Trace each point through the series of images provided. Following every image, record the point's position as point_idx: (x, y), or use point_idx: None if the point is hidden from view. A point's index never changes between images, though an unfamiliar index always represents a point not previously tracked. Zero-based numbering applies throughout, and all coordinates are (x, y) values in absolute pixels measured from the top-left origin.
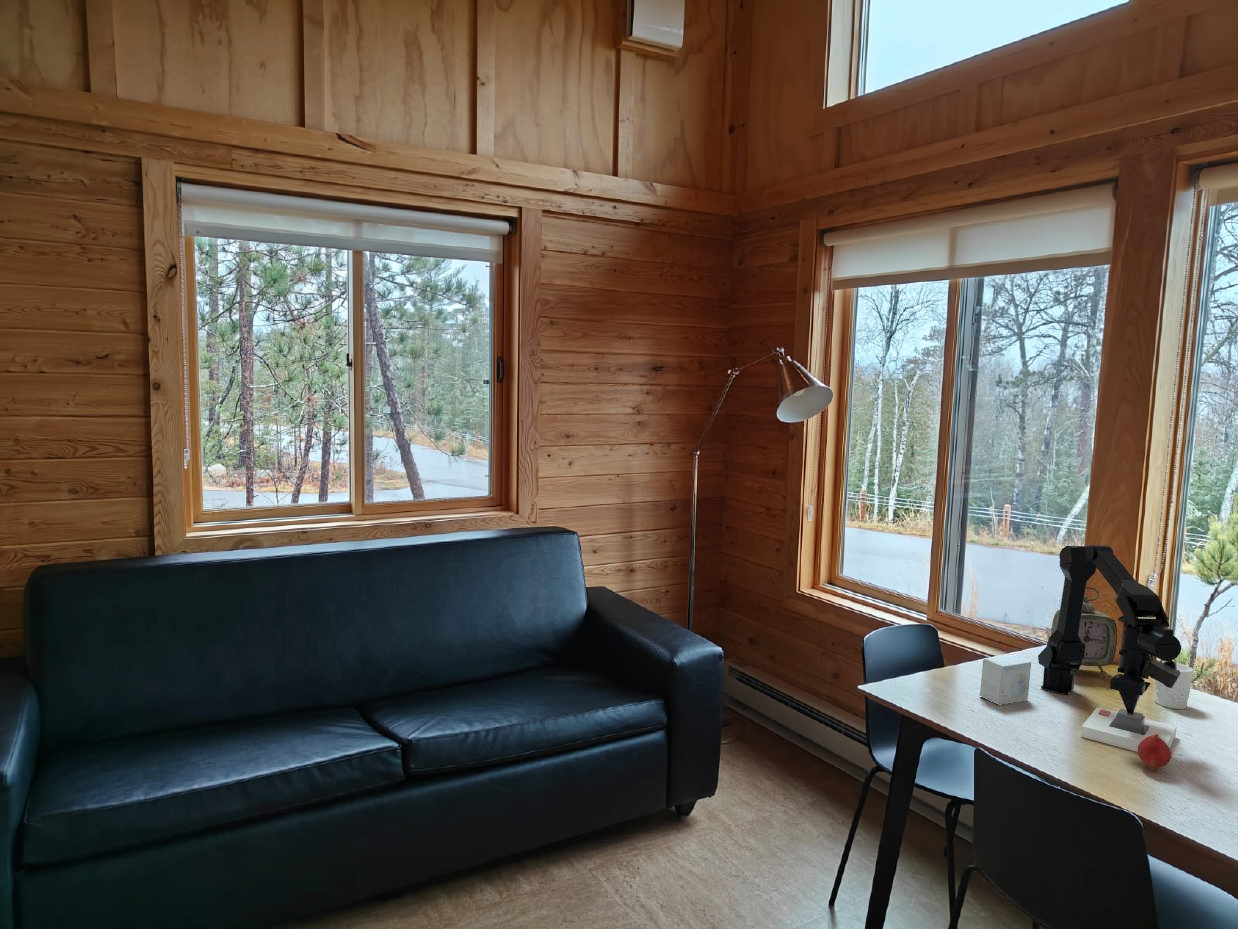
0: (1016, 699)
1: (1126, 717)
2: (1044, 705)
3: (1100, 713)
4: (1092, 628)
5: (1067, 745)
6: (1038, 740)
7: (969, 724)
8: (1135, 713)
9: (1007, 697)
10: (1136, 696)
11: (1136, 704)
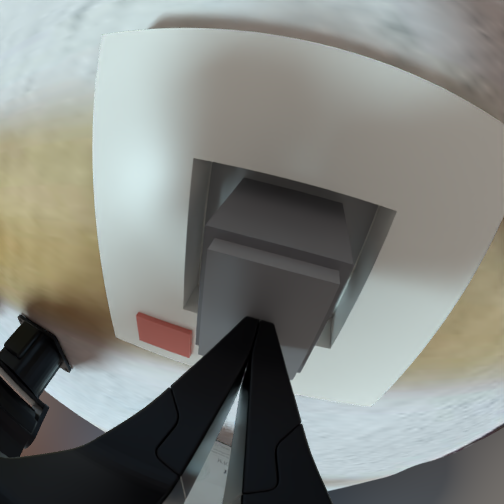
0: None
1: (316, 338)
2: (157, 395)
3: (189, 354)
4: None
5: (442, 392)
6: (421, 425)
7: (368, 470)
8: (240, 301)
9: (215, 455)
10: (323, 494)
11: (213, 357)
